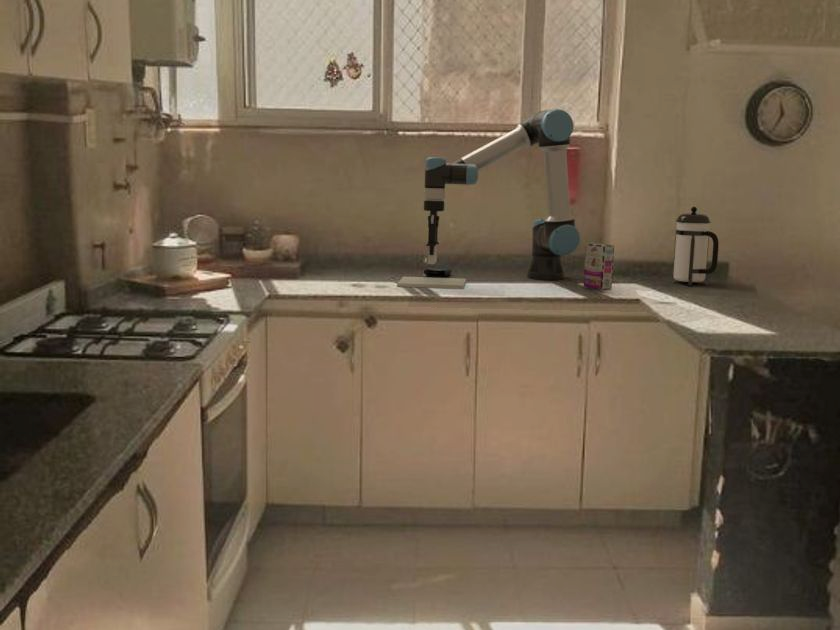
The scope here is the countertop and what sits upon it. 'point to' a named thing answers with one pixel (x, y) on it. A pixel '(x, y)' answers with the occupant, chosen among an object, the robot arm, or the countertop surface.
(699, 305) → the countertop surface
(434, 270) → the flask
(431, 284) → the beige flat panel
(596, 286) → the candy bar box
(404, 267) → the countertop surface
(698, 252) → the coffee press
